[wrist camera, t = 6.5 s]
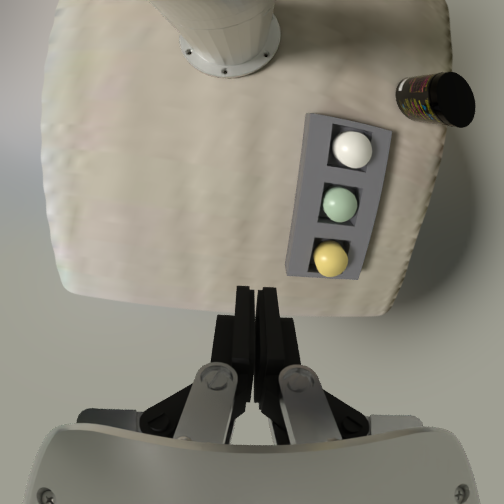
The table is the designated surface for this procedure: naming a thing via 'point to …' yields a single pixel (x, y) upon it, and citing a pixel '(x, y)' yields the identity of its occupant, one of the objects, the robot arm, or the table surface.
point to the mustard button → (330, 258)
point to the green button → (338, 203)
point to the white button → (352, 149)
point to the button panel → (323, 176)
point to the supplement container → (437, 99)
